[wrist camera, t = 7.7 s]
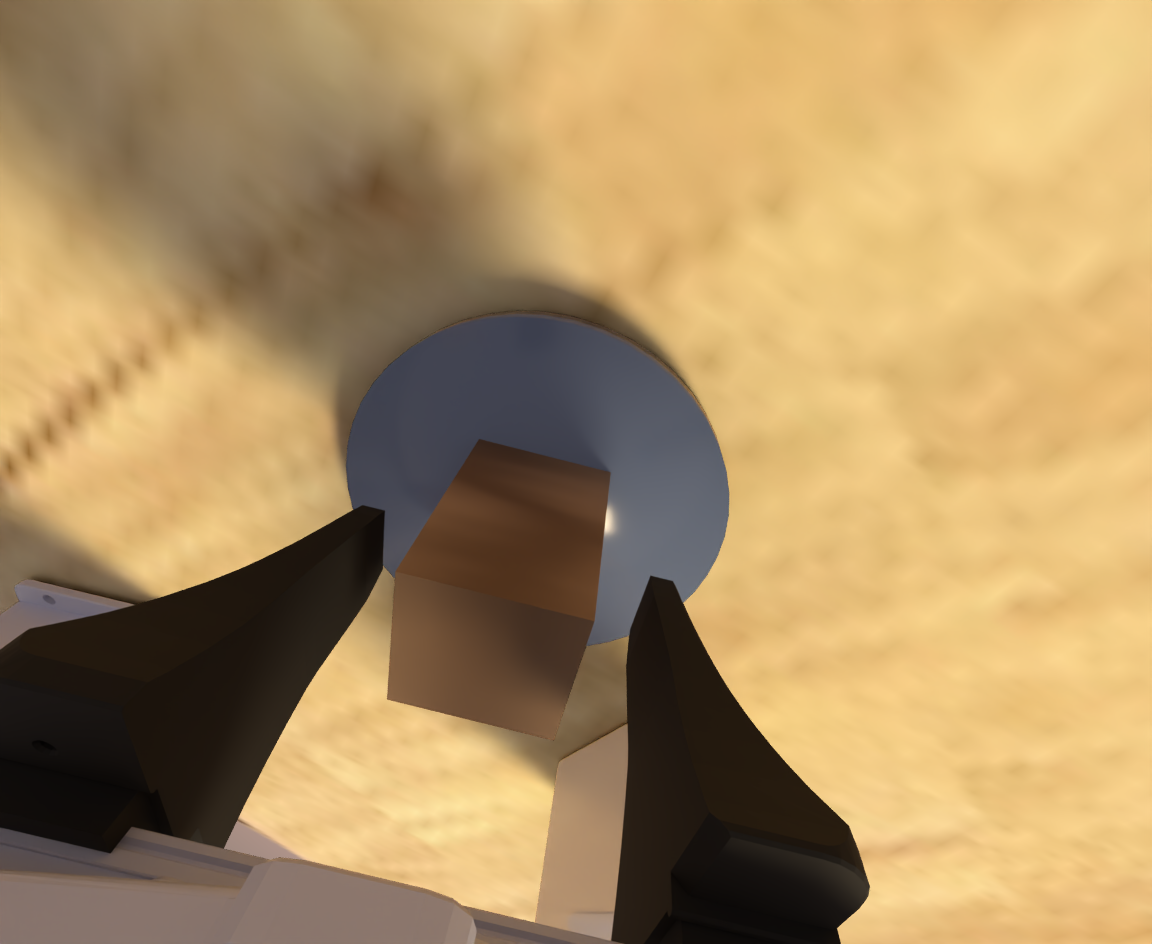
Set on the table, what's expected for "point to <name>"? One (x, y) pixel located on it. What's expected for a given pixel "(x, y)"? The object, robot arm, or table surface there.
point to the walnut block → (501, 591)
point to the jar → (585, 838)
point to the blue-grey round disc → (550, 442)
